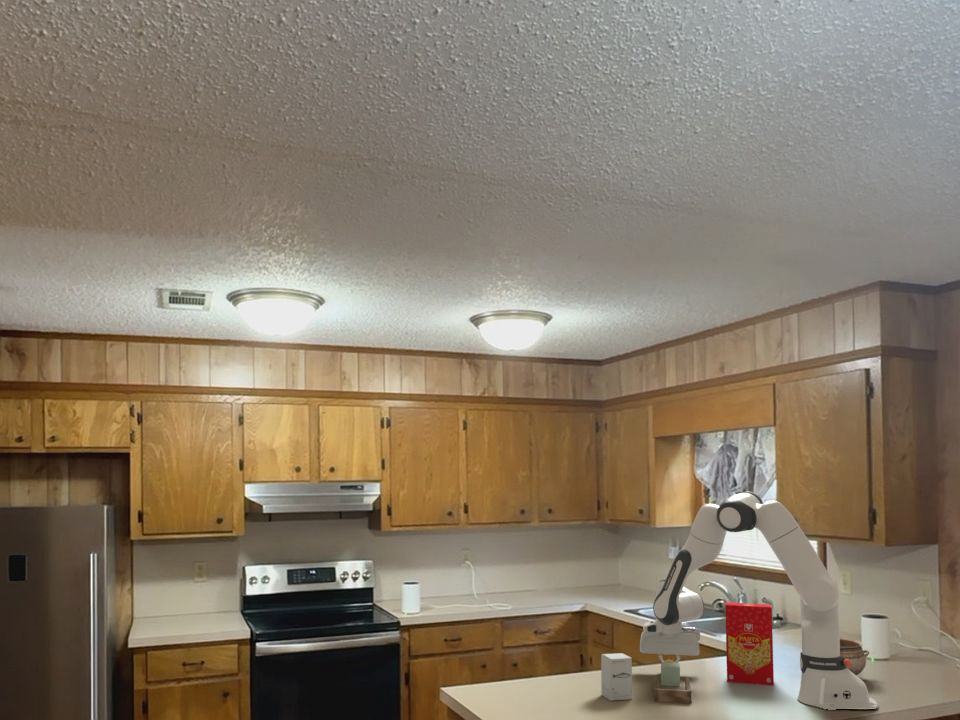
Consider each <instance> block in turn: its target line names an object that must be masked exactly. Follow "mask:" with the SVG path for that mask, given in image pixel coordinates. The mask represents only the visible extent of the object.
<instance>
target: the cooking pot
mask: <svg viewBox="0 0 960 720" xmlns="http://www.w3.org/2000/svg"><path fill="white" fill-rule="evenodd" d="M839 639H840V655H842V656H843V657H845V658H846V659H849V660H850V661H851V663H852V664H851V665H850V667H847V669H849V670H850V671H851V672H852V673H854V674H855V675H856V676H857V675H859V674H861V673H862V672H863V671H864V669H865V668H866V665H867V659H866V657H868V656H869V655H870V651H869V650H868V649H863V647H862V646H863V645H864V643H863V642H862V641H859V640H857V639H853V638H848V637H841V636H839Z"/></svg>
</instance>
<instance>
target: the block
mask: <svg viewBox="0 0 960 720" xmlns="http://www.w3.org/2000/svg"><path fill="white" fill-rule="evenodd" d="M665 661H666V662H661V661H660V676H661V677H660V678H661V679H660V681H661V682H660V686H664V687H665V686H668V687H669V686H670V687H681V668H680V667H681V666H680V663H679V662H678V663H673V662H674V659H672V660H671V659H666V660H665Z"/></svg>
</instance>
